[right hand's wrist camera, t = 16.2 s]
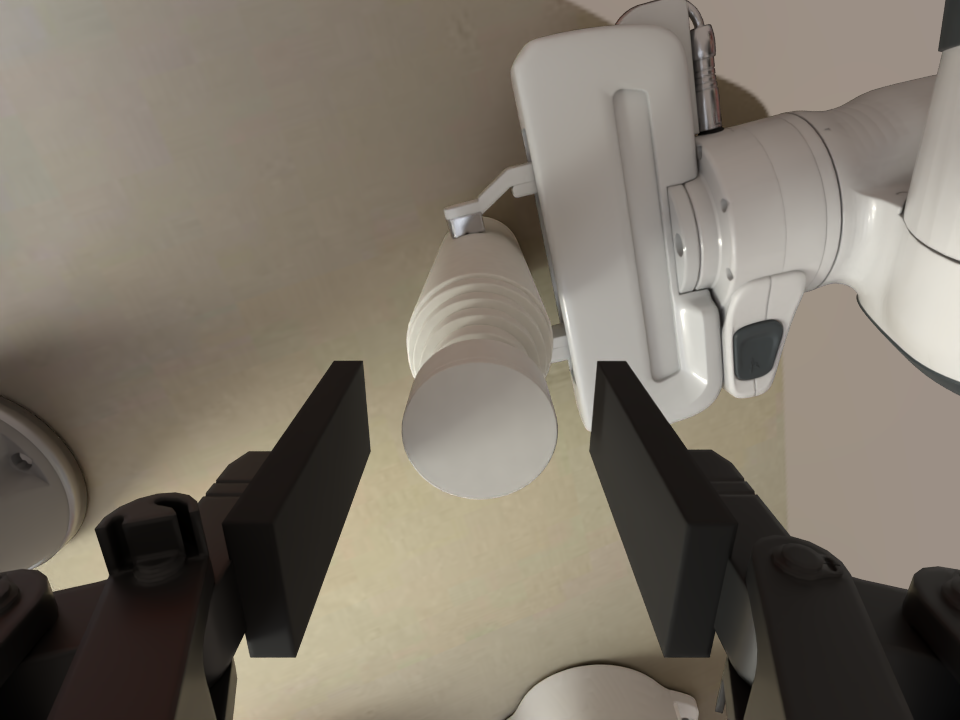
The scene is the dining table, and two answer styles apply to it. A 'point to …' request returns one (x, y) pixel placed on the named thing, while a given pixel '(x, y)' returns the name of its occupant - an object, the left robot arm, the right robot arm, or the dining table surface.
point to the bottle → (480, 299)
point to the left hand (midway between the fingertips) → (463, 285)
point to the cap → (479, 420)
